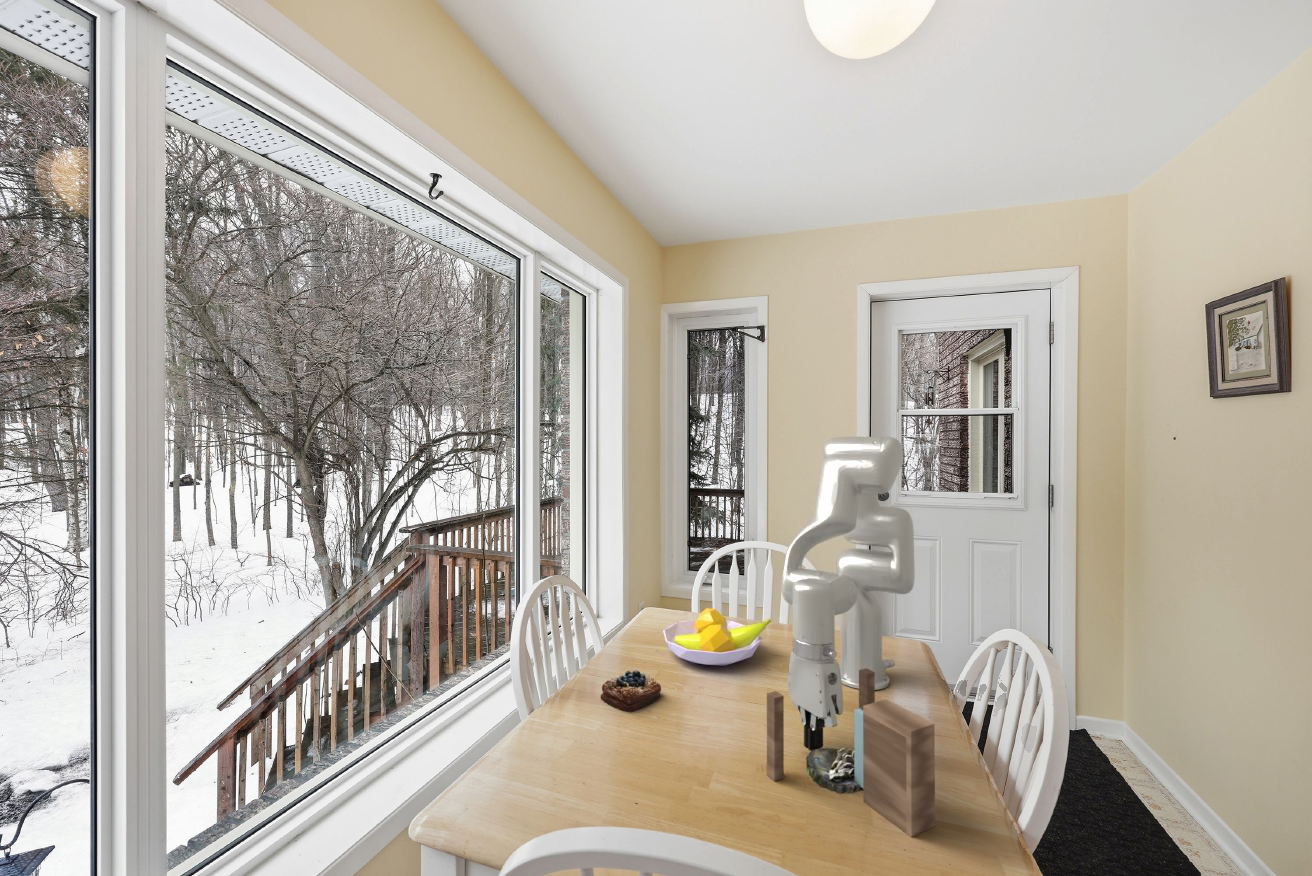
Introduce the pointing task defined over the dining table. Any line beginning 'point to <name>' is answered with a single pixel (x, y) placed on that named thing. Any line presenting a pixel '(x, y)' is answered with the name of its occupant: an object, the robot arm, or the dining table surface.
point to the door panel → (858, 746)
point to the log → (833, 769)
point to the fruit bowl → (713, 639)
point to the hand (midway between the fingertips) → (813, 747)
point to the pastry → (630, 691)
